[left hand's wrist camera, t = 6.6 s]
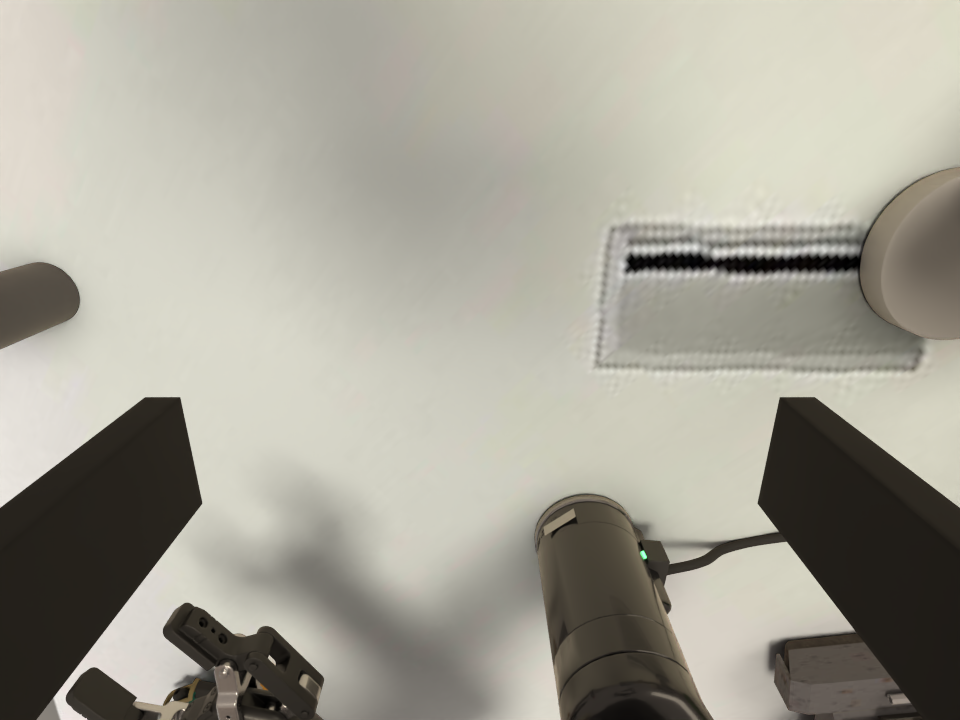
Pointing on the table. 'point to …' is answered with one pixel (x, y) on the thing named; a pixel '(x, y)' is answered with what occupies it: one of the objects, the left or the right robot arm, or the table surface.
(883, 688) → the toy
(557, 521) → the right robot arm
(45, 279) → the bottle
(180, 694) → the spray gun
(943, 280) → the bust sculpture
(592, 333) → the table surface
